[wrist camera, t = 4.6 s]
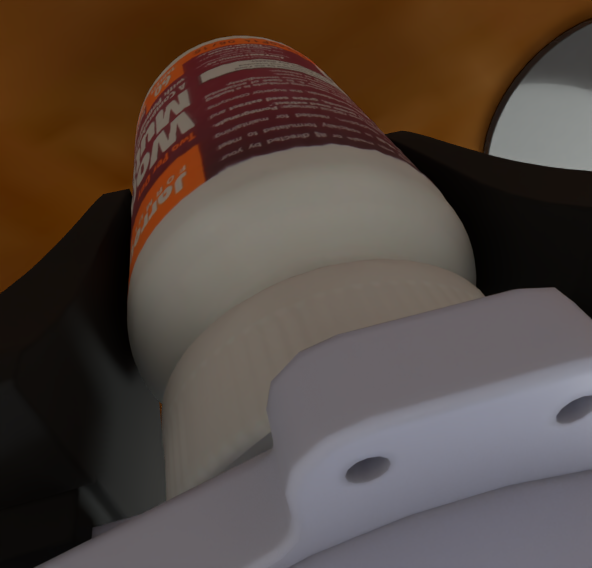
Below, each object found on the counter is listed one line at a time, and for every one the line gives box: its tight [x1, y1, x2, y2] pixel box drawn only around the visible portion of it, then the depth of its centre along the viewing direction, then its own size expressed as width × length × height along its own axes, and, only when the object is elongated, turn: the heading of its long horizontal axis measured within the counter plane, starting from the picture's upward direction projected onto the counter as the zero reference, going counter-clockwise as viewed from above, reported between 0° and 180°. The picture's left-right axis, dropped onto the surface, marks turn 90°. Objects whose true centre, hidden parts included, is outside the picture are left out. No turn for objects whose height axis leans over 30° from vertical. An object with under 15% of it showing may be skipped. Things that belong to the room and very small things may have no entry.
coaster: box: [484, 19, 592, 171], centre depth 21 cm, size 9×9×1 cm
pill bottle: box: [127, 36, 485, 501], centre depth 10 cm, size 6×6×11 cm
